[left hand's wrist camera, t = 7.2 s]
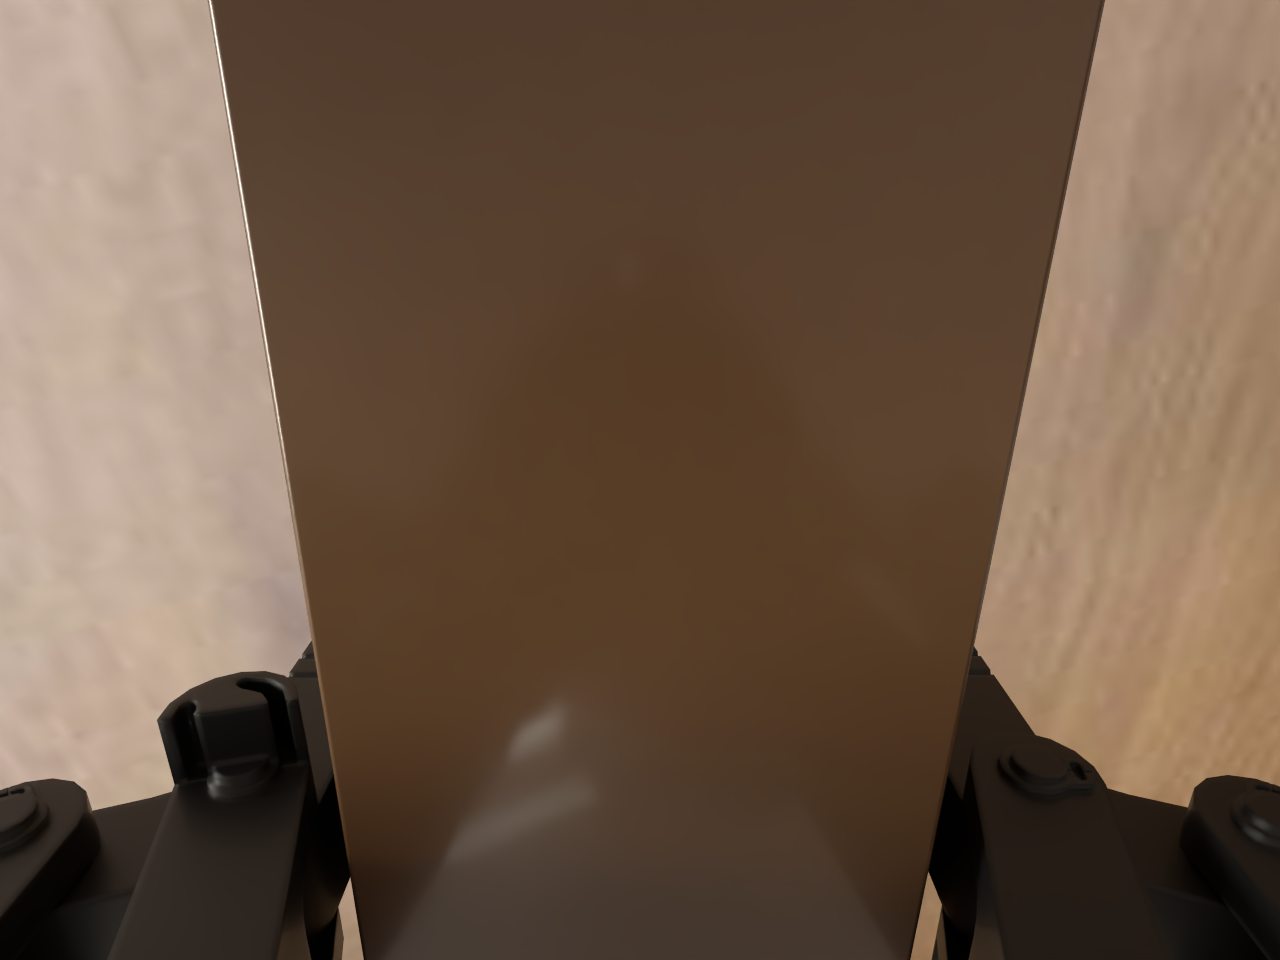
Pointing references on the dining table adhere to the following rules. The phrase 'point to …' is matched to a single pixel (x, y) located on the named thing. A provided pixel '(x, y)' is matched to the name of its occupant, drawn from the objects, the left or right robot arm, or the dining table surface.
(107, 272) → the dining table surface
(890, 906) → the bar
